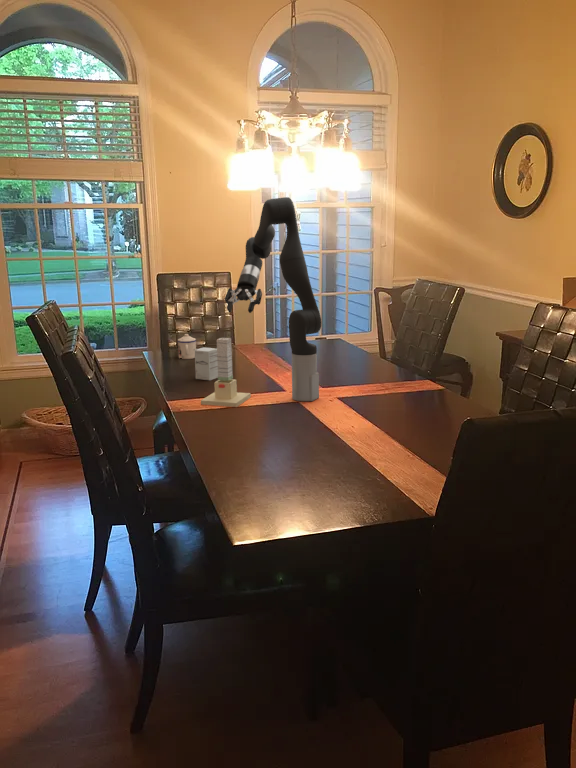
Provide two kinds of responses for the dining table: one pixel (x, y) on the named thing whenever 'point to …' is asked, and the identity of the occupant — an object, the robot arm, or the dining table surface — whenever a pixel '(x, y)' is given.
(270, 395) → the dining table surface
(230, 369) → the column
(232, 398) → the stand base
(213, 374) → the supplement box
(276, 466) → the dining table surface
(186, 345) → the teacup with lid
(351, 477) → the dining table surface
